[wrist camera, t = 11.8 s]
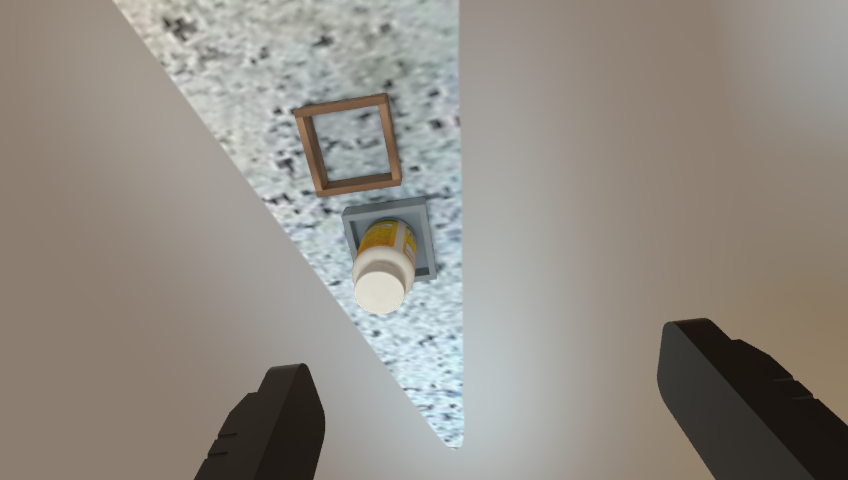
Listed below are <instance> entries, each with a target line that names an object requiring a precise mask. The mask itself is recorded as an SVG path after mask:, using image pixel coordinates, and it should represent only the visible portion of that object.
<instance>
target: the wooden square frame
mask: <svg viewBox="0 0 848 480" xmlns="http://www.w3.org/2000/svg"><path fill="white" fill-rule="evenodd" d="M374 105H378V106H379V111H380V116H381V121H382V126H383V132H384V137H385V142H386V147H387V152H388V157H389V163H390V168H391V173H385V174H378V175H372V176H365V177H358V178H352V179H345V180H338V181H332V182H328V178H327V175H326V171H325V167H324V163H323V159H322V156H321V152H320V148H319V144H318V140H317V137H316V133H315V129H314V125H313V121H312V118H311V116H312V115H319V114H325V113H331V112H337V111H343V110H350V109H356V108H362V107H368V106H374ZM293 112H294V115H295V119H296V122H297V126H298V130H299V133H300V137H301V140H302V144H303V147H304V151H305V154H306V158H307V162H308V165H309V169H310V172H311V176H312V179H313V183H314V187H315V190H316V194H317V197H325V196H332V195H339V194H346V193H352V192H359V191H366V190H373V189H380V188H386V187H393V186H400V185H401V181H402V173H401V168H400V162H399V157H398V151H397V146H396V140H395V135H394V129H393V124H392V118H391V113H390V107H389V102H388V96H387V93H383V94H377V95H371V96H364V97H358V98H352V99H346V100H340V101H334V102H328V103H322V104H316V105H309V106H303V107H300V108H298V109H296V110H294V111H293Z"/></svg>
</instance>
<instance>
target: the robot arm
mask: <svg viewBox="0 0 848 480" xmlns="http://www.w3.org/2000/svg"><path fill="white" fill-rule="evenodd" d="M657 381H658V387H659V390H660V393H661V396H662V398H663V401H664V402H665V404H666V406H667V407H668V409H669V410H670V412H671V413H672V415H673V416H674V418H675V419H676V421H677V422H678V424H679V425H680V427H681V428H682V430H683V431H684V433H685V434H686V436H687V437H688V439H689V440H690V442H691V443H692V445H693V446H694V448H695V449H696V451H697V452H698V454H699V455H700V457H701V458H702V460H703V461H704V463H705V464H706V466H707V467H708V469H709V470H710V472H711V473H712V475H713V476H714V478H715V479H716V480H848V426H847V425H846V424H845V423H844V422H843V421H842V420H841V419H840V418H839V417H837V416H836V415H835V414H834V413H833V412H832V411H831V410H830V409H829V408H828V407H826V406H825V405H824V404H823V403H822V402H821V401H820V400H819V399H814V398H813V394H812V393H811V392H810V391H808V389H806V388H805V387H804V386H803V385H802V384H801V383H800V382H799V381H795V380H794V379H793V376H792V375H791V374H790V373H789V372H788V371H787V370H785V369H784V368H783V367H782V366H781V365H780V364H779V363H778V362H777V361H775V360H774V359H773V358H772V357H771V356H770V355H768V354H766V353H764V352H763V351H761V350H759V349H757V348H755V347H753V346H752V345H750V344H748V343H746V342H744V341H742V340H740V339H738V340H731V339H730V338H729V337H728V336H727V335H726V334H725V333H724V332H723V331H722V330H721V329H719V327H718V326H716V325H715V324H714V323H713V322H712V321H711V320H709V319H707V318H698V319H690V320H681V321H672V322H667V323H666V324H665V325H664V327H663V332H662V340H661V348H660V357H659V364H658V372H657ZM324 434H325V414H324V410H323V407H322V404H321V401H320V398H319V396H318V393H317V390H316V387H315V385H314V382H313V379H312V376H311V374H310V371H309V368H308V367H307V365H306V364H304V363H301V364H293V365H284V366H276V367H271V368H270V369H269V370H268V371H267V373H266V375H265V378H264V379H263V381H262V383H261V385H260V387H259V389H258V392H254V393H248V394H247V395H246V396H245V397H244V398H243V399H242V400H241V402H239V404H238V405H237V406H236V407H235V408H234V409H233V410H232V411H231V412H230V413H229V415H228V417H227V419H226V421H225V423H224V424H223V426H222V428H221V430H220V432H219V434H218V439H217V440H215V441H214V443H213V445H212V447H211V448H210V450H209V452H208V458H207V459H205V460H204V462H203V464H202V465H201V467H200V469H199V471H198V473H197V475H196V477H195V479H194V480H313V479H314V475H315V471H316V467H317V463H318V459H319V456H320V452H321V448H322V444H323V440H324Z"/></svg>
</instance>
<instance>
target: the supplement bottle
mask: <svg viewBox="0 0 848 480" xmlns="http://www.w3.org/2000/svg"><path fill="white" fill-rule="evenodd" d="M416 253H417V239H416V236H415V233H414V231H413V230H412V228H411V227H410V226H409V225H408V224H406V223H405V222H403V221H401V220H398V219H395V218H386V219H380V220H378V221H375V222H374V223H372V224H371V225H370V226H369V227H368V228H367V230H366V231H365V233H364V236H363V239H362V241H361V244H360V247H359V250H358V253H357V256H356V258H355V261H354V264H353V267H352V279H353V283H354V285H355V287H354V295H355V299H356V301H357V302H358V304H359V305H360V306H361V307H362V308H363V309H364V310H366V311H368V312H371V313H374V314H387V313H390V312H393V311H394V310H396V309H397V308H398V307H399V306H400V305H401V304H402V302H403V300H404V296H405V295H406V294H407V293H408V292H409V291H410V289H411V288H412V286H413V283H414V279H415V267H416Z"/></svg>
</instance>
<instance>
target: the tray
mask: <svg viewBox="0 0 848 480" xmlns="http://www.w3.org/2000/svg"><path fill="white" fill-rule="evenodd" d="M341 217H342V221H343V224H344V228H345V232H346V236H347V240H348V244H349V248H350V251H351V255H352V259H353V263H354V261H355V258H356V256H357V253H358V250H359V247H360V244H361V241H362V239H363V236H364V233H365V231H366V230H367V228H368V227H369V226H370V225H371V224H372V223H374V222H375V221H378V220H380V219H386V218H395V219H398V220H401V221H403V222H405V223H406V224H408V225H409V226H410V227H411V228H412V230H413V231H414V233H415V236H416V239H417V253H416V267H415V279H414V282H418V281H426V280H434V279H437V273H436V263H435V257H434V251H433V245H432V239H431V232H430V226H429V220H428V214H427V208H426V201H425V196H424V197H417V198H410V199H403V200H396V201H390V202H383V203H376V204H369V205H362V206H355V207H348V208H345V210H344V212H343V214H342V216H341Z"/></svg>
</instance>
